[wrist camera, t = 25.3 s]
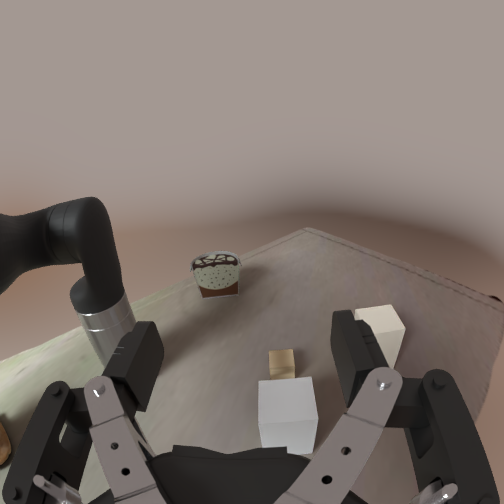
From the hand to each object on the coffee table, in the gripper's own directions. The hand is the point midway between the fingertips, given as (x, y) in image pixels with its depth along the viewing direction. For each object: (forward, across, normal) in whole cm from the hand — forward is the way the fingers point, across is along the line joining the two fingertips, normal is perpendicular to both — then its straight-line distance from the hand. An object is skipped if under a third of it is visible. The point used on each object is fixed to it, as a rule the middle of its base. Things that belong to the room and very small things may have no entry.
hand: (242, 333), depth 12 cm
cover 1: (+10, -2, +30) cm, 32 cm away
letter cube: (+24, -2, +30) cm, 38 cm away
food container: (+52, +11, +30) cm, 62 cm away
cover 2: (+24, -18, +30) cm, 42 cm away
